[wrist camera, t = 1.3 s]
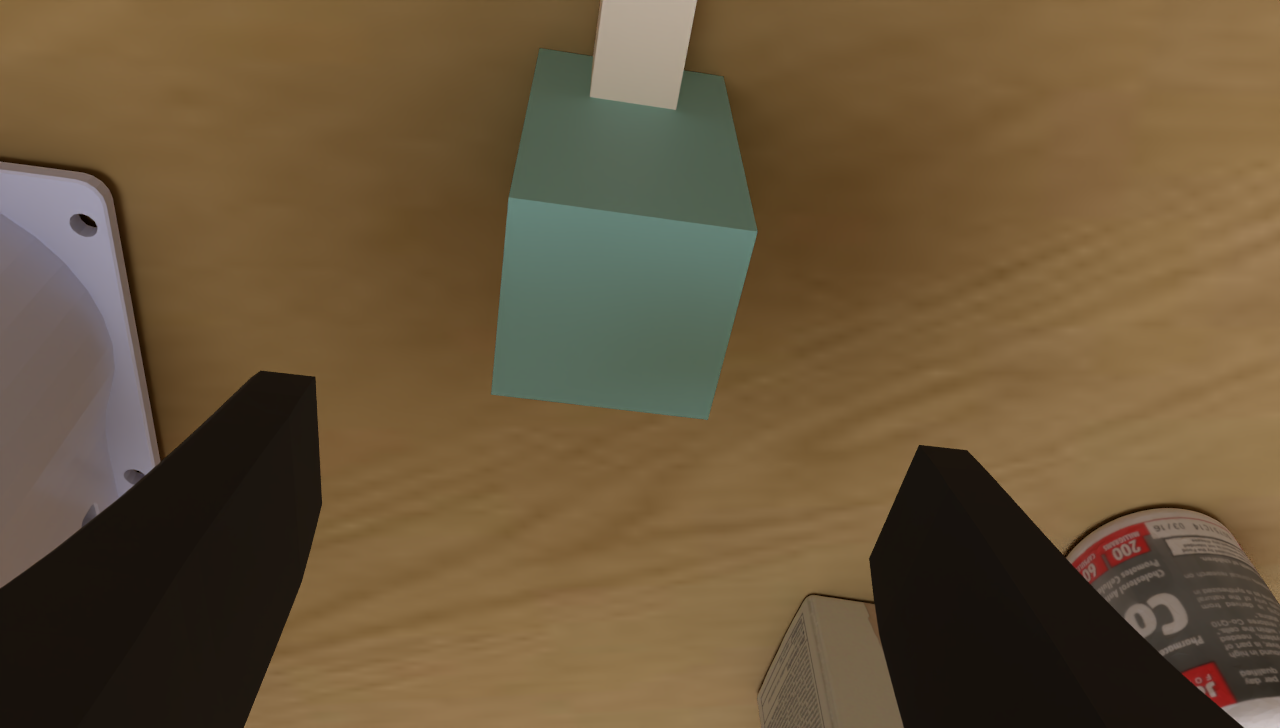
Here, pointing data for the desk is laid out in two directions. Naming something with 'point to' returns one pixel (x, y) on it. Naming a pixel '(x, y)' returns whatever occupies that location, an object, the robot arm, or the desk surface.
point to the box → (830, 671)
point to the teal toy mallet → (624, 224)
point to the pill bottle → (1193, 604)
